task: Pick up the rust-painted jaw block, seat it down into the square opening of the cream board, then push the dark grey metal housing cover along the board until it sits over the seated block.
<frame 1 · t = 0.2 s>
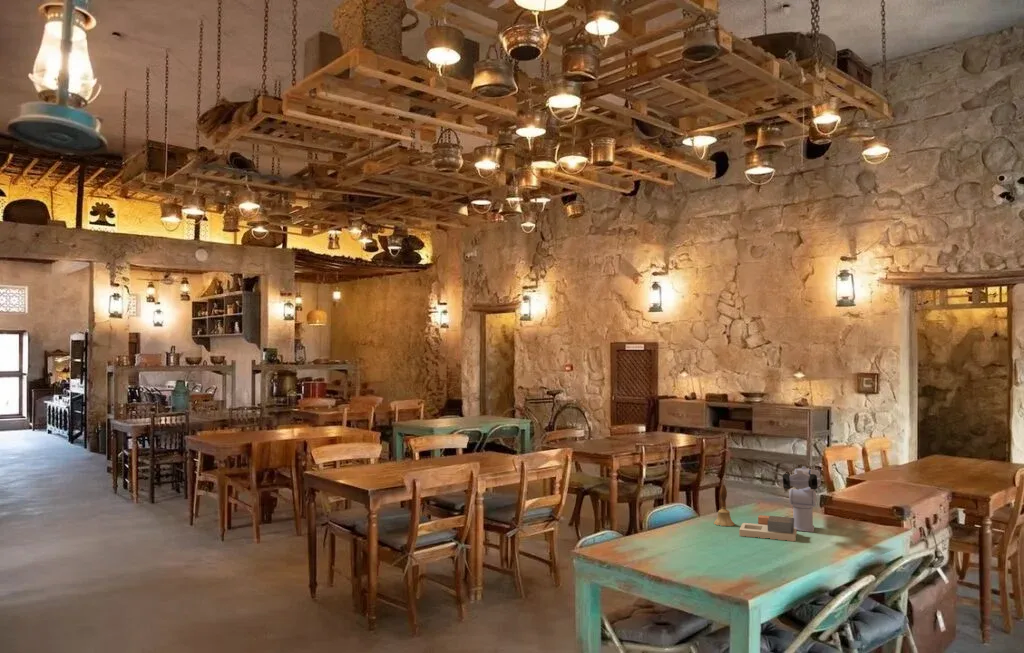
hand: (798, 483, 273), 21 cm above the table, tool horizontal, fingers open, 7 cm apart
hand bell: (724, 524, 298), on the table
jaw block: (764, 529, 290), on the table
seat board: (768, 534, 281), on the table
housing cover: (781, 524, 279), point 5 cm above the table, slide at 0.0 cm
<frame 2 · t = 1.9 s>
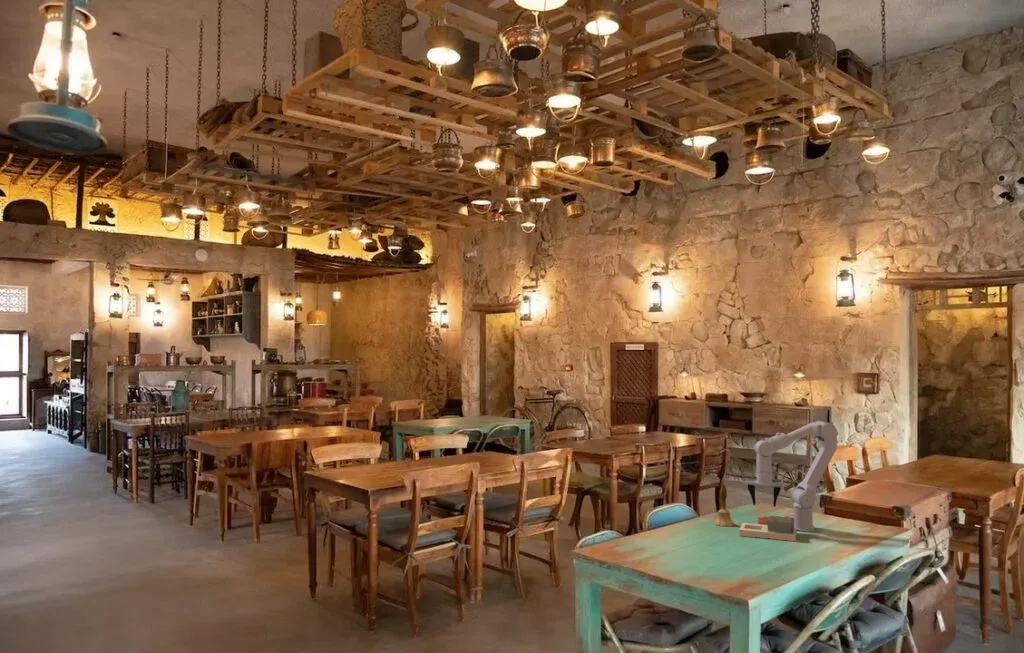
hand: (764, 505, 290), 9 cm above the table, tool pointing down, fingers open, 7 cm apart
nothing on the table moved.
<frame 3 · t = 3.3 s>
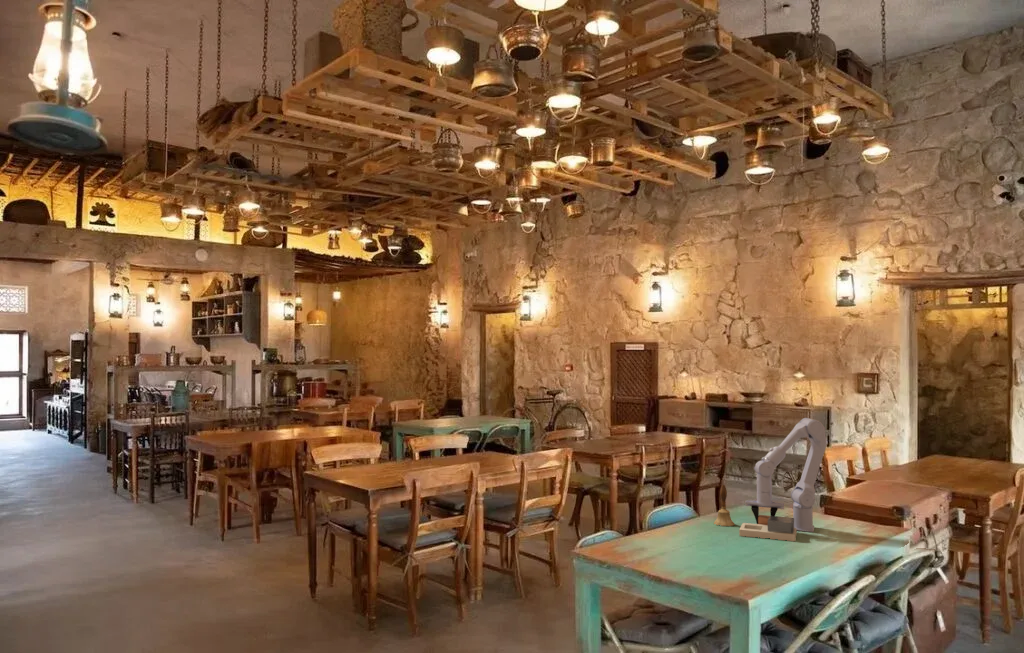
hand: (764, 525, 290), 1 cm above the table, tool pointing down, fingers closed on jaw block, 4 cm apart
jaw block: (764, 529, 290), on the table, touching gripper
everything else where it was.
when the fingers open (3 cm above the table, at t = 6.2 s): jaw block drops 1 cm, resting in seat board.
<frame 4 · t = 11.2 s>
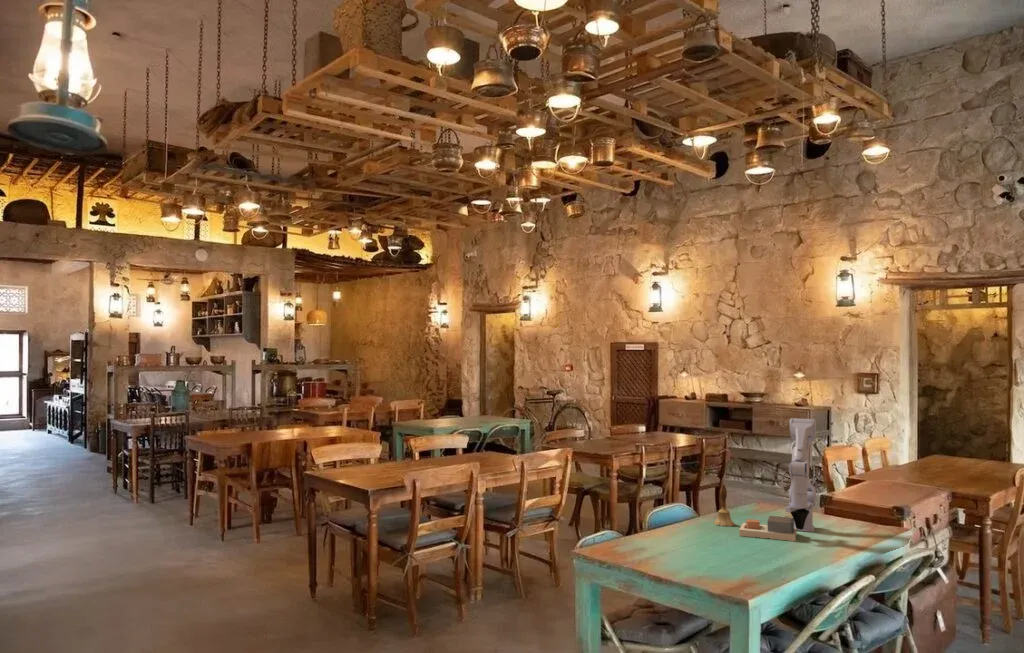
hand: (799, 528, 276), 3 cm above the table, tool pointing down, fingers closed
jaw block: (753, 533, 283), resting in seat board
housing cover: (781, 524, 279), point 5 cm above the table, slide at 0.0 cm, touching gripper
everything else where it was.
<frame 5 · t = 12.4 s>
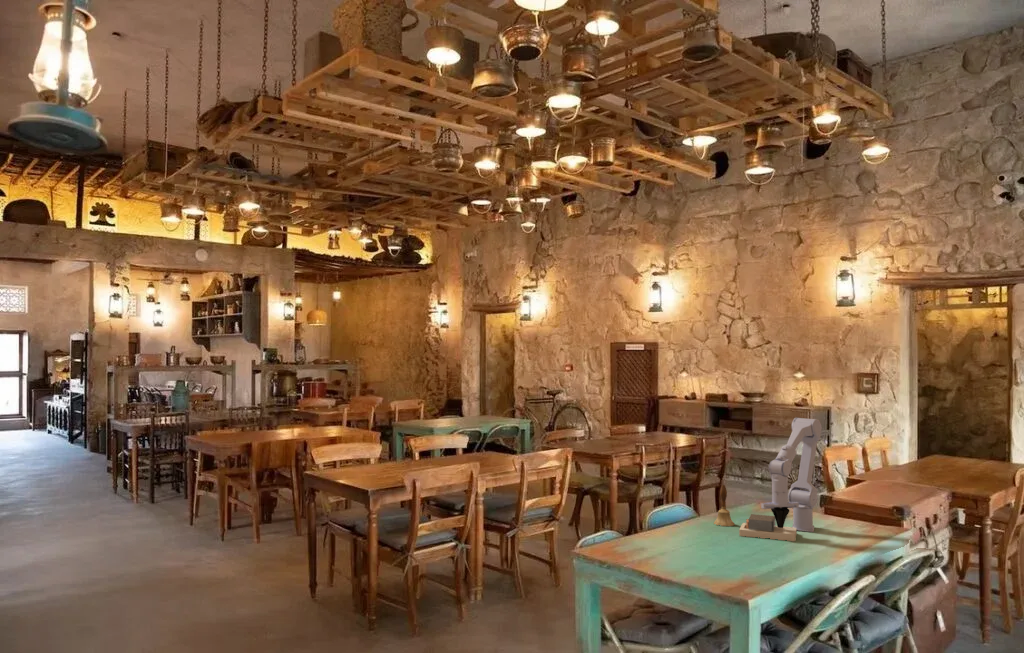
hand: (780, 527, 279), 3 cm above the table, tool pointing down, fingers closed
housing cover: (762, 522, 282), point 5 cm above the table, slide at 6.9 cm, touching gripper
everything else where it was.
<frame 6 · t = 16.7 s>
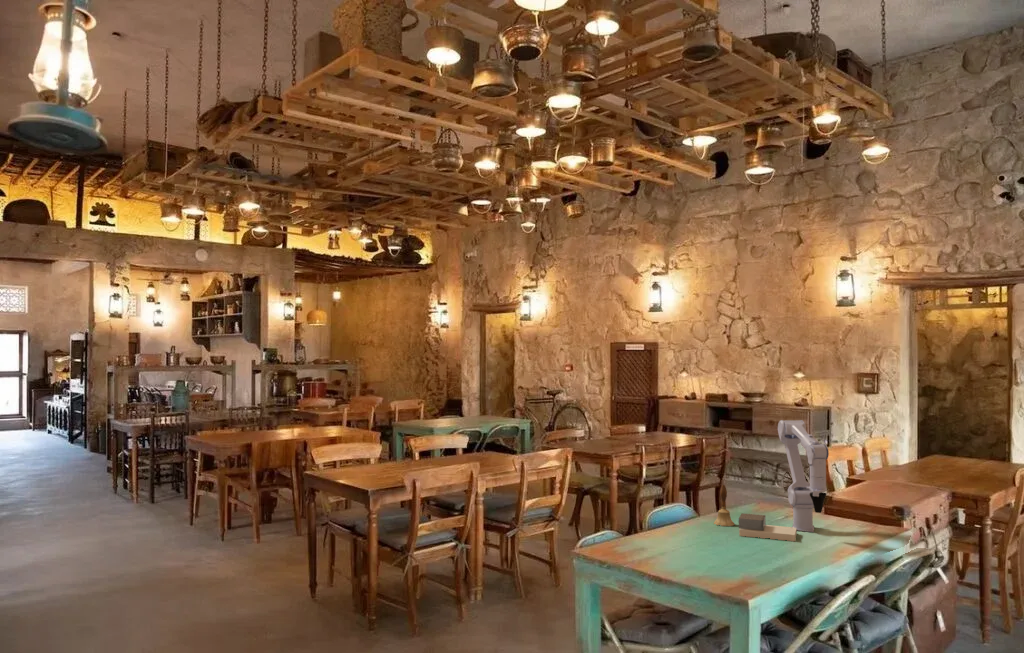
hand: (818, 512, 275), 10 cm above the table, tool pointing down, fingers closed
housing cover: (752, 521, 283), point 5 cm above the table, slide at 10.6 cm
everything else where it was.
at the end: jaw block 0.2 cm from the target spot, resting in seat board; housing cover slide at 10.6 cm; jaw block tilted 0° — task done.
